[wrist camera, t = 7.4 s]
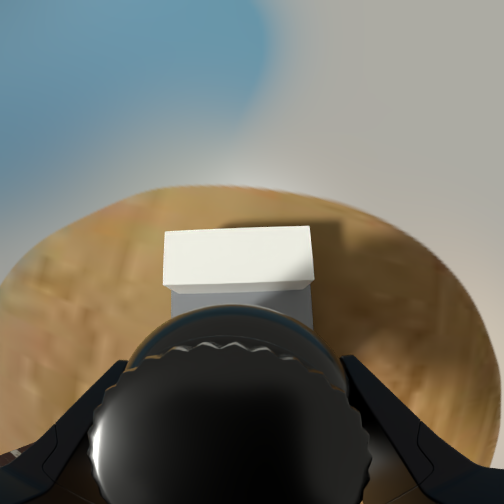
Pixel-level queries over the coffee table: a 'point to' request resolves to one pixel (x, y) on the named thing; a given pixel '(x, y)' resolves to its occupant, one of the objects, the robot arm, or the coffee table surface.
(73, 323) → the coffee table surface
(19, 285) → the coffee table surface
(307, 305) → the rail plate
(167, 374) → the supplement bottle
